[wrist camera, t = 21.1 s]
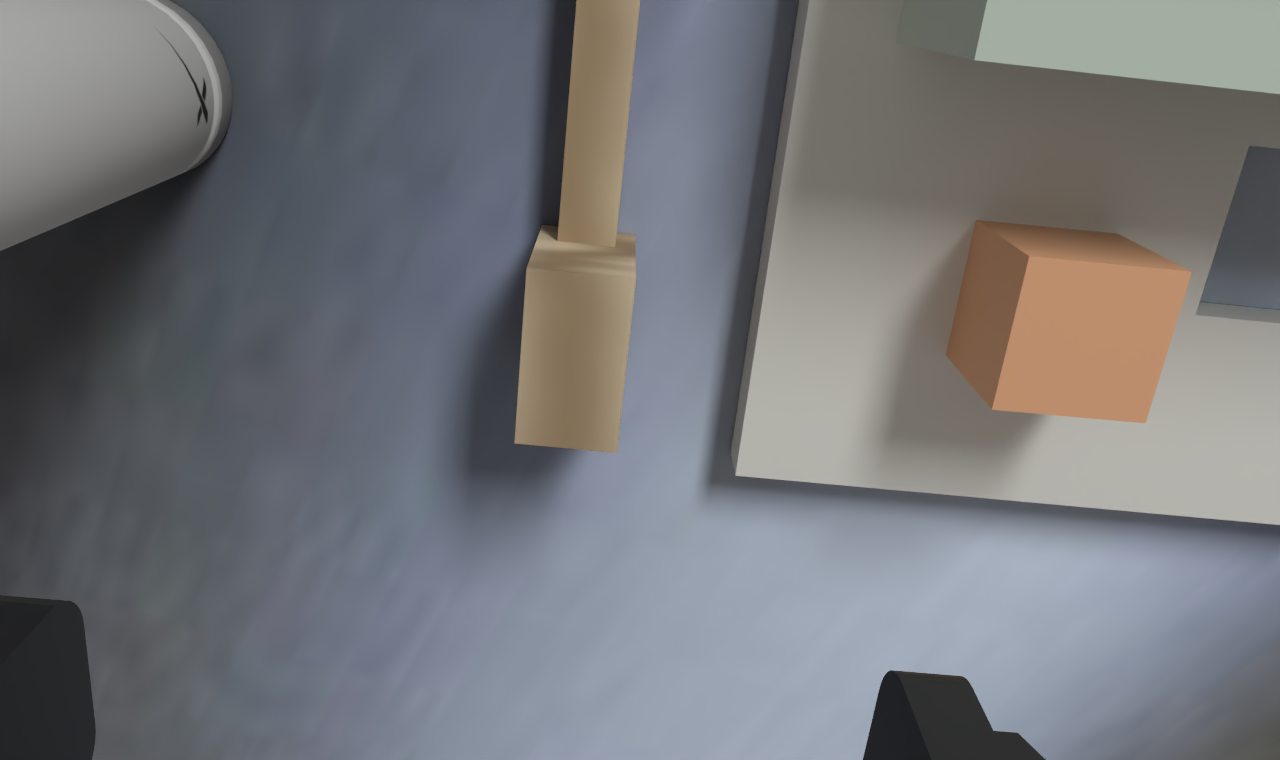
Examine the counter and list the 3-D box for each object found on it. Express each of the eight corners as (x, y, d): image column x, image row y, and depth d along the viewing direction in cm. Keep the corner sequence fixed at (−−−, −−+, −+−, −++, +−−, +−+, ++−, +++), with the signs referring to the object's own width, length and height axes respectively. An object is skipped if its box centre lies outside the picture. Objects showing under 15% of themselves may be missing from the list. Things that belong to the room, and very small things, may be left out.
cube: (1117, 233, 35) (1192, 271, 30) (1080, 367, 37) (1145, 423, 32) (975, 219, 35) (1029, 256, 30) (946, 355, 37) (991, 409, 32)
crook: (677, -164, 32) (688, -195, 27) (618, 385, 39) (616, 452, 34) (403, -198, 32) (355, -237, 26) (392, 364, 39) (352, 428, 33)
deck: (1640, -333, 31) (2078, -469, 22) (1311, 506, 41) (1509, 658, 32) (865, -436, 30) (973, -628, 20) (730, 452, 40) (760, 594, 31)
